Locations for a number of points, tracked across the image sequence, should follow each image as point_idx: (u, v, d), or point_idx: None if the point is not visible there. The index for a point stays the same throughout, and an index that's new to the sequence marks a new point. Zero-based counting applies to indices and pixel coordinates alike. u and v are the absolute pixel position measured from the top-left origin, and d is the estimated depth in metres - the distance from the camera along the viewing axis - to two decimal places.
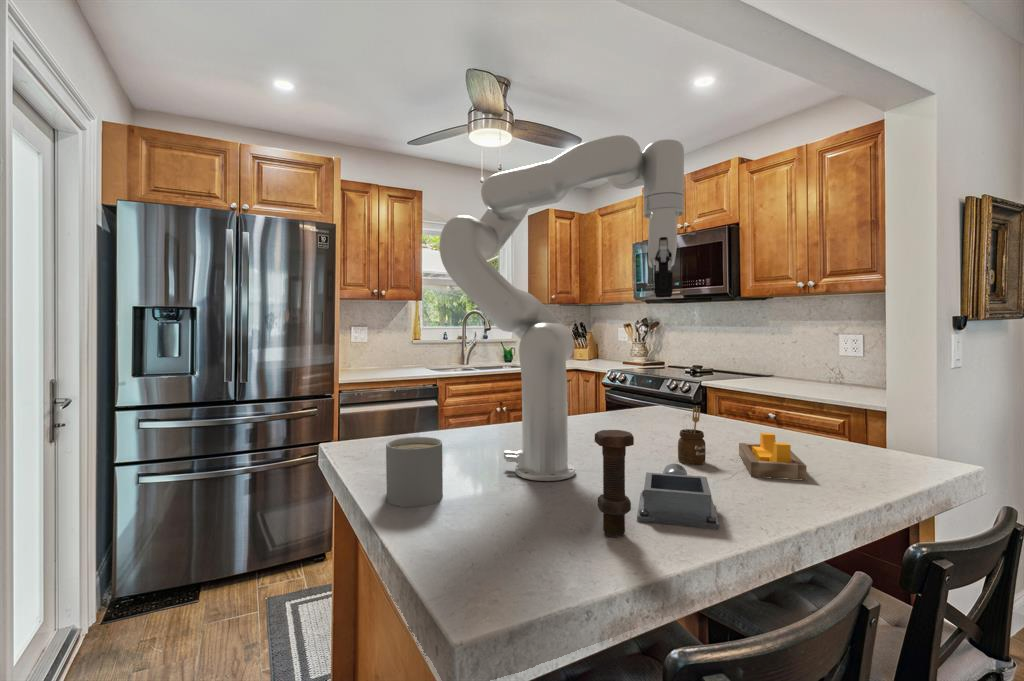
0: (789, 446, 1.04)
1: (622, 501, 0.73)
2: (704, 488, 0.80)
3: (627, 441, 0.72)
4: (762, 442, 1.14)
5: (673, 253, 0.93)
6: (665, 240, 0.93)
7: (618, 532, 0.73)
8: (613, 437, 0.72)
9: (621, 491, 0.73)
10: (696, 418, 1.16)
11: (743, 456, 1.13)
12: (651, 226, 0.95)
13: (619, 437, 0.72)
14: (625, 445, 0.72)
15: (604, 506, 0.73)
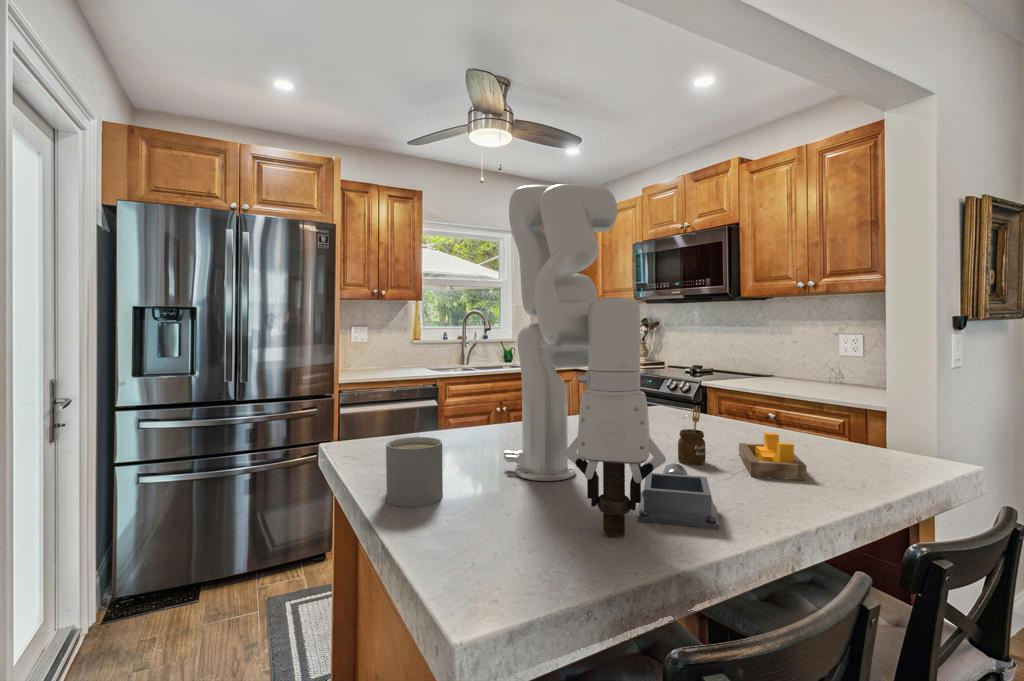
0: (792, 446, 1.04)
1: (622, 501, 0.73)
2: (704, 488, 0.80)
3: None
4: (765, 442, 1.14)
5: None
6: (652, 440, 0.73)
7: (618, 532, 0.73)
8: None
9: (621, 491, 0.73)
10: (696, 418, 1.16)
11: (743, 456, 1.13)
12: (645, 416, 0.71)
13: None
14: None
15: (604, 506, 0.73)
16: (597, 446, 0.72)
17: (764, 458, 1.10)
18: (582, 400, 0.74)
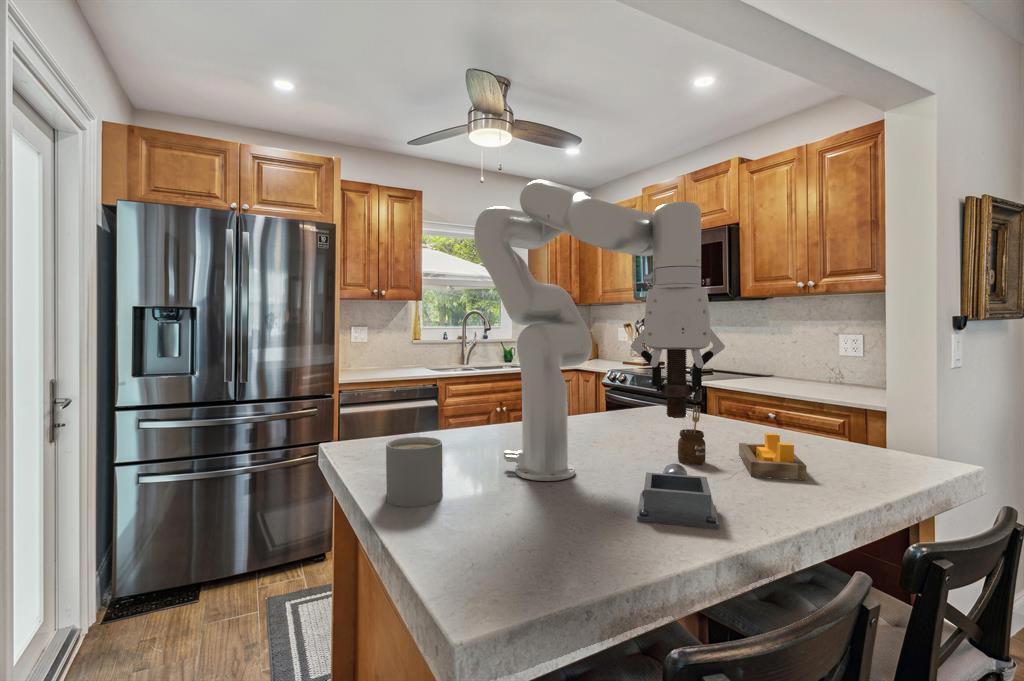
0: (792, 446, 1.04)
1: (685, 385, 0.81)
2: (704, 488, 0.80)
3: None
4: (766, 442, 1.14)
5: None
6: None
7: (681, 413, 0.82)
8: None
9: (684, 377, 0.82)
10: (696, 418, 1.16)
11: (743, 456, 1.13)
12: (707, 306, 0.79)
13: None
14: None
15: (669, 389, 0.81)
16: (663, 335, 0.81)
17: (764, 458, 1.10)
18: (648, 295, 0.82)
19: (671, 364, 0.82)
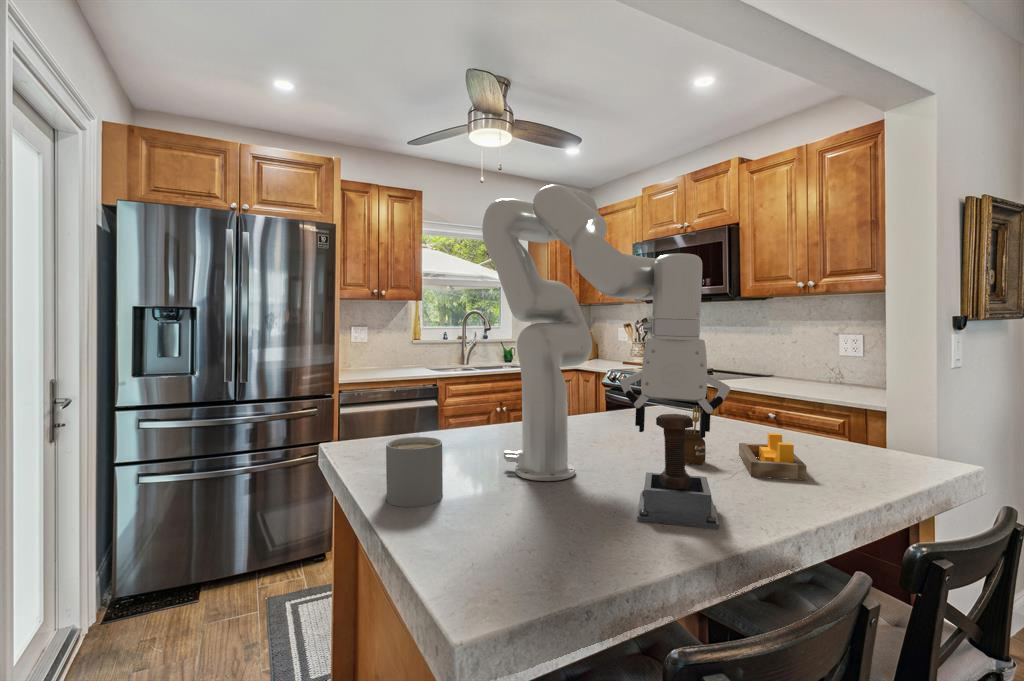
0: (792, 446, 1.04)
1: (683, 477, 0.82)
2: (704, 488, 0.80)
3: (687, 424, 0.81)
4: (769, 442, 1.14)
5: None
6: (711, 376, 0.82)
7: None
8: (675, 420, 0.81)
9: (682, 468, 0.82)
10: (696, 418, 1.16)
11: (743, 456, 1.13)
12: (705, 359, 0.80)
13: (681, 420, 0.80)
14: (686, 427, 0.81)
15: (667, 481, 0.82)
16: (660, 385, 0.81)
17: (766, 458, 1.10)
18: (647, 344, 0.82)
19: (669, 456, 0.82)
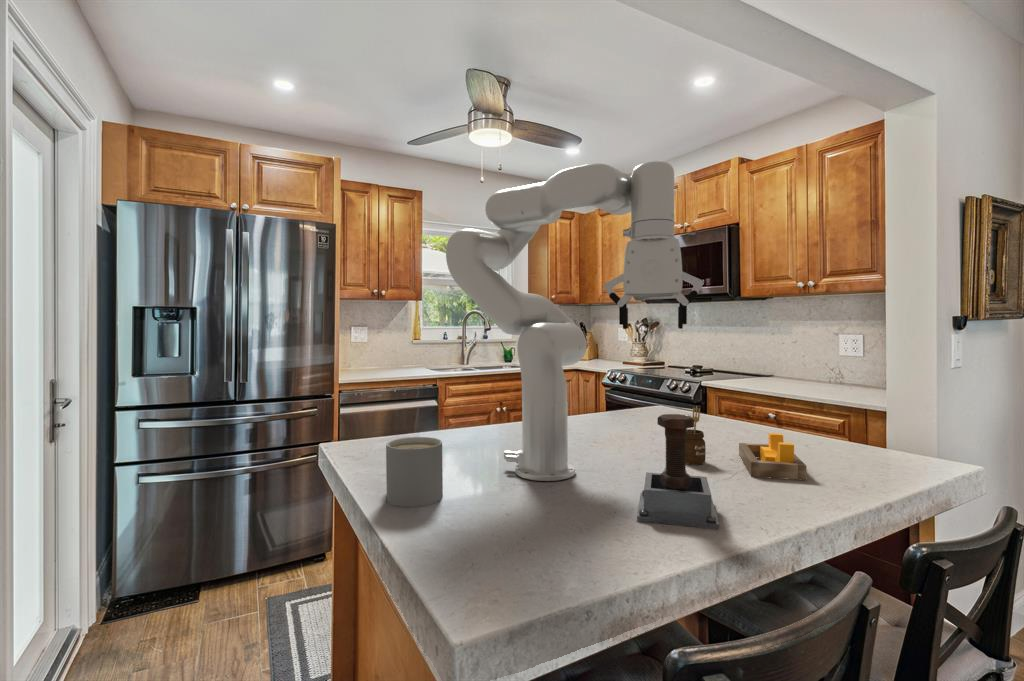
0: (793, 446, 1.03)
1: (684, 477, 0.82)
2: (704, 488, 0.80)
3: (688, 424, 0.81)
4: (770, 442, 1.14)
5: None
6: None
7: None
8: (676, 419, 0.81)
9: (683, 468, 0.82)
10: (696, 418, 1.16)
11: (743, 456, 1.13)
12: (679, 255, 0.88)
13: (682, 420, 0.81)
14: (687, 427, 0.81)
15: (668, 481, 0.82)
16: (640, 282, 0.89)
17: (766, 458, 1.10)
18: (627, 247, 0.91)
19: (670, 455, 0.82)
